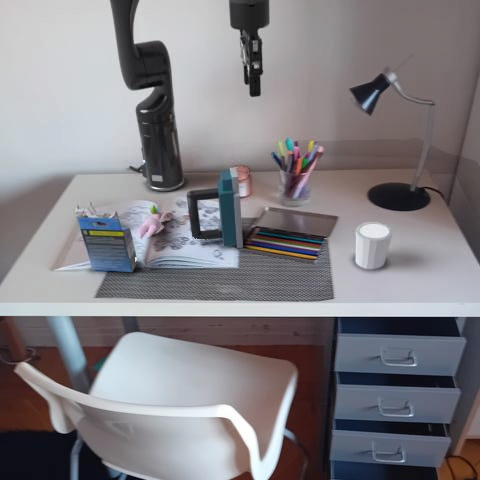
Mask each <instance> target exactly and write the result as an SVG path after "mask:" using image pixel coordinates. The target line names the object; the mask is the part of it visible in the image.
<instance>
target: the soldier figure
mask: <svg viewBox="0 0 480 480" xmlns="http://www.w3.org/2000/svg"><path fill="white" fill-rule="evenodd" d="M87 204H88V206H89V208H88V207H84V208H80V206H79V205H78V204H76V205H75V211H74V214H76V215H77V214H82V217H91V218H112V219H116V218H117V217H118V218H119V214H118V211H117V210H115V211H114V212H113V214H112V213H110V212H106V211H97V210H96V209H95V208H94V206H93V203H92V201H91V200H87Z"/></svg>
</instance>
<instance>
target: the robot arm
mask: <svg viewBox="0 0 480 480" xmlns="http://www.w3.org/2000/svg"><path fill="white" fill-rule="evenodd" d="M109 3H110V9H111V15H112V20H113V27H114V33H115V34H114V36H115V41H116V42H115V43H116V50H117V56H118V63H119V67H120V68H119V69H120V72H121V76H122V77H121V78H122V79H123V82H124V84H125V86H126V87H127V89H128V90H130V91H132V92H136V91H143V90H146V89H151V88H153V89H152V91H151V93H150V94H149V95H148V96H147V97H145V99H143V100H142V101H140V102H139V103H138V104H137V105H136V106H135V110H134V111H135V116H136V122H137V127H138V132H139V137H140V143H141V148H140V149H141V155H142V161H143V164H141V165H140V166H139V167H137V168H136V167H134V166H132V165H129V169H130V170H132V171H134V172H140V171H141V173H142V177H144V178H146V182H147V184H148V188H149V189H150V190H152V191H155V192H170V191H174V190H177V189H180V188H181V187H183V186H184V184H185V177H184V171H183V163H182V154H181V148H180V142H179V133H178V127H177V119H176V112H175V111H176V110H175V96H174V95H175V94H174V86H173V73H172V63H171V58H170V57H171V56H170V54H169V50H168V48H167V45H165V43H164V42H163V41H162V40H159V39H158V40H157V39H156V40H149V41H142V42H137V43H135V38H134V37H135V35H134V28H135V27H134V26H135V23H134V22H135V17H136V13H137V9H138V6H139V3H140V0H109ZM228 9H229V11H228V12H229V25H230V28H232V29H234V30H238V31H239V37H238V38H239V47H240V48H239V50H240V51H239V52H240V58H241V64H242V68H243V83H244V84H245V86H248V90H249V91H248V92H249V96H250V97H251V98H256V97H260V96H261V94H262V88H261V87H262V85H261V84H262V83H261V82H262V81H261V77H262V76H263V74H264V69H263V68H264V66H263V39H262V38H261V37H260V35H259V30H260V29H265V28H267V27H268V26H269V25H270V23H271V22H270V21H271V20H270V0H228ZM255 66H257V67H255Z"/></svg>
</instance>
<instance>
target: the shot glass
mask: <svg viewBox="0 0 480 480" xmlns="http://www.w3.org/2000/svg"><path fill="white" fill-rule="evenodd" d="M392 237H393V229H392V228H391V227H390V226H389V225H387V224H385V223H381V222H377V221H367V222H363V223H361V224H358V225H357V226H356V228H355V263H356V264H357V266H358V267H360V268H363V269H365V270H378V269H380V268H382V267H384V265H385V263H386V259H387V256H388V252H389V248H390V244H391V240H392Z"/></svg>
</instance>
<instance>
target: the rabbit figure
mask: <svg viewBox="0 0 480 480" xmlns="http://www.w3.org/2000/svg"><path fill="white" fill-rule="evenodd" d="M164 212H165V211H162V210H161V211H160V210H158V208H156V205H155V204H153V205H152V206H151V208H150V214H151V217H148V218H146V220H144V221H143V223H142V225H143V226H142V225H141V226H140V227H138V229H137V234H138V235H137V236H138V238H139V239H140V240H142V239H143V238H144V236H145V235H146V239H147V240H149V239H150V238H151V237H152V235H156V234H155V233H156V232H157V231H158V230H159V229H160V227H161V224H163V223H161V222H160V221H159V220H160V218H161V216H162V214H163V213H164ZM152 217H153V218H152ZM146 232H147V233H146Z"/></svg>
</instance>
